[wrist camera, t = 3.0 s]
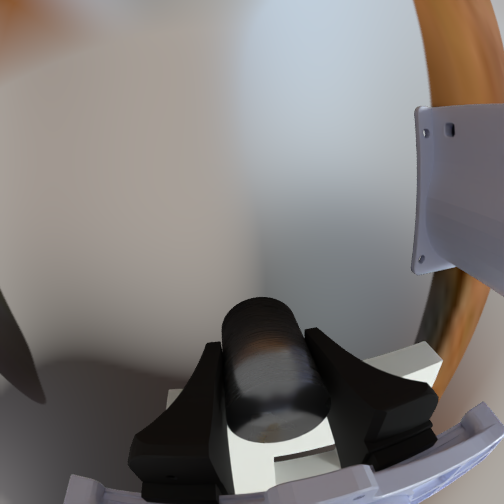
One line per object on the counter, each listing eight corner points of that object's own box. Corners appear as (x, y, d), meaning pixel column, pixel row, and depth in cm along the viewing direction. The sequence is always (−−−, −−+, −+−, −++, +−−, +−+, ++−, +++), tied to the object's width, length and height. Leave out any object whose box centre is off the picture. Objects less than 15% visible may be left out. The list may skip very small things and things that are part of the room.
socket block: (168, 389, 16) (164, 419, 13) (424, 340, 17) (442, 360, 15) (217, 489, 22) (218, 507, 20) (376, 457, 23) (383, 472, 21)
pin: (216, 302, 14) (218, 390, 8) (295, 291, 14) (336, 370, 9) (226, 361, 15) (233, 448, 10) (295, 351, 16) (326, 432, 10)
